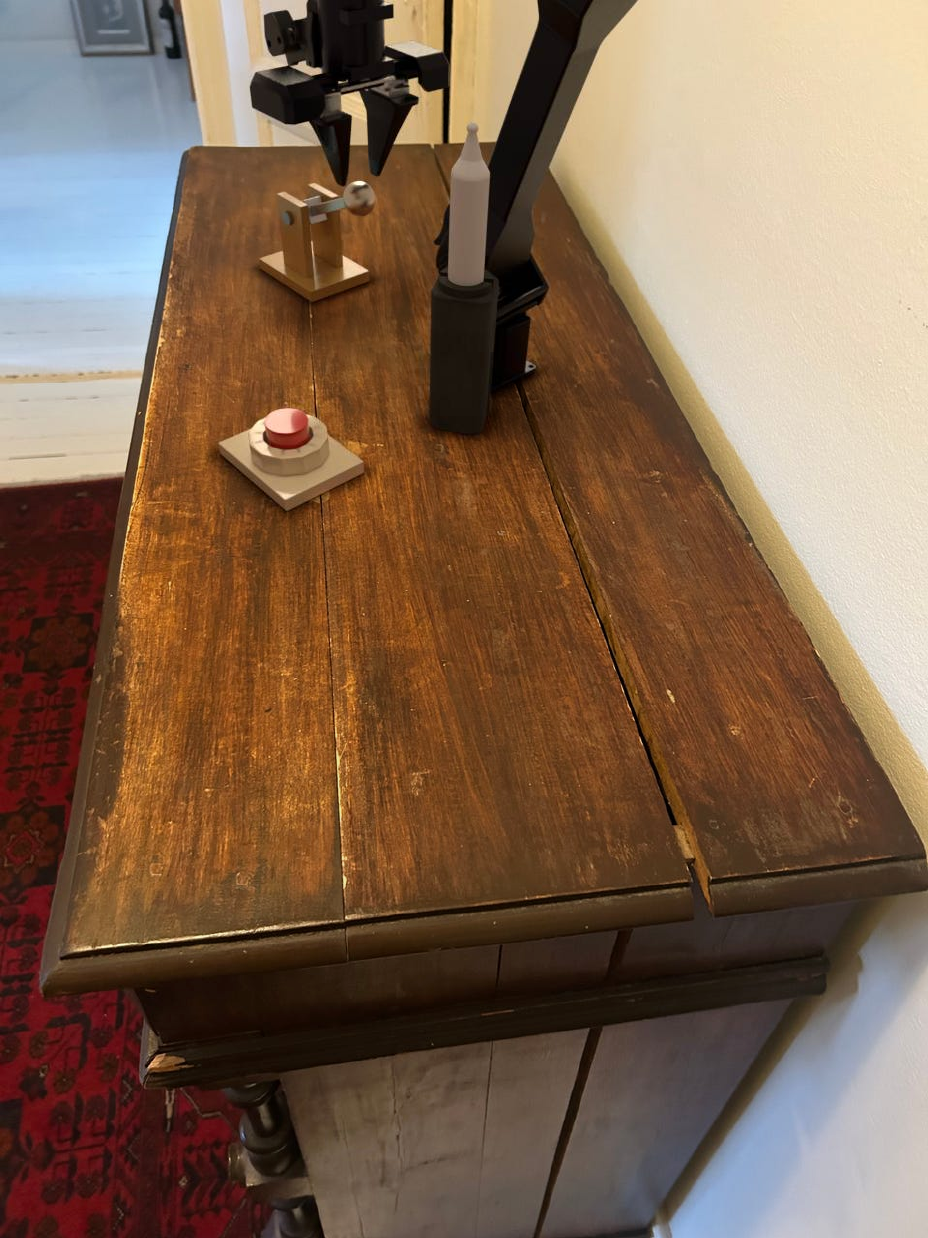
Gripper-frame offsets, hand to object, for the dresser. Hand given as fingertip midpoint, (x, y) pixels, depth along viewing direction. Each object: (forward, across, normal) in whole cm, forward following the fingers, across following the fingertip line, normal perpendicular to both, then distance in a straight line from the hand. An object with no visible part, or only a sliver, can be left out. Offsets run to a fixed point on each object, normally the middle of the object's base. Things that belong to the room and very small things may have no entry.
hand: (358, 179), depth 85 cm
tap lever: (+5, 0, -4) cm, 6 cm away
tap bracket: (+13, 0, -9) cm, 16 cm away
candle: (+13, +6, +22) cm, 26 cm away
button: (+10, +22, +18) cm, 30 cm away
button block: (+13, +22, +18) cm, 31 cm away
